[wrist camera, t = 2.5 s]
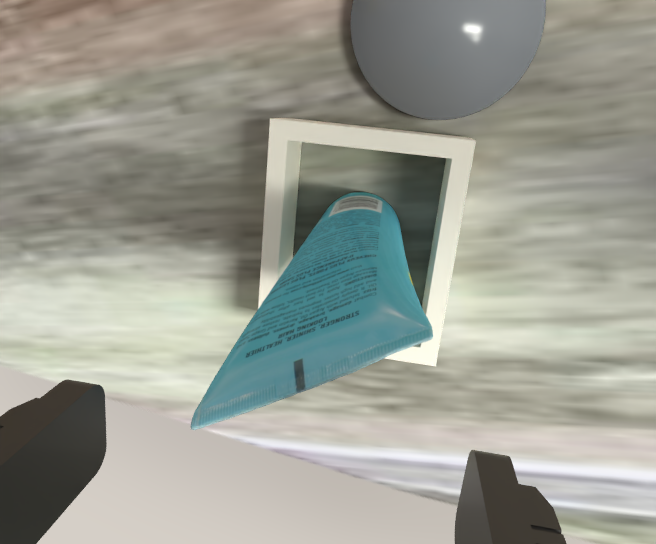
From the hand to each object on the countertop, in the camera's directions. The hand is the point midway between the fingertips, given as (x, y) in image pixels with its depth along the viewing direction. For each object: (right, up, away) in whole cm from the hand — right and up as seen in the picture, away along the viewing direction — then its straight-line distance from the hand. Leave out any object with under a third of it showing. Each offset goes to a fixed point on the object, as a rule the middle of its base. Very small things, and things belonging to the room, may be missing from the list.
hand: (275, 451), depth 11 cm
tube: (+3, +6, +21) cm, 22 cm away
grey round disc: (+7, +17, +17) cm, 25 cm away
